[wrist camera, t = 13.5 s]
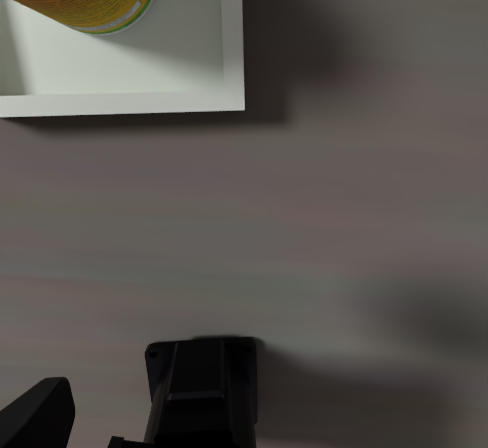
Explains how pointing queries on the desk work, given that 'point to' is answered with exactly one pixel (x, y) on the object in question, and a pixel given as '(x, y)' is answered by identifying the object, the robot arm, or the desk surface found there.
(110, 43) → the tray
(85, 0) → the supplement bottle
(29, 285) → the desk surface
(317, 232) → the desk surface
